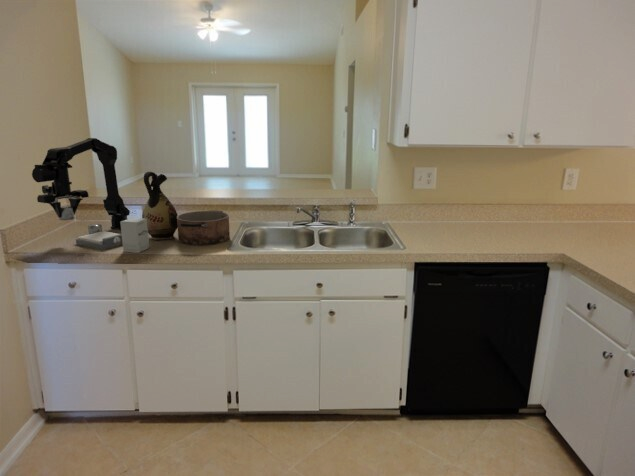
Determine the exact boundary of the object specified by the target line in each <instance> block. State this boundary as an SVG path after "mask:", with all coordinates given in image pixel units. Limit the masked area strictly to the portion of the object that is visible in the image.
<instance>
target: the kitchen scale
mask: <svg viewBox="0 0 635 476" xmlns="http://www.w3.org/2000/svg"><path fill="white" fill-rule="evenodd" d="M75 244H76V245H77V246H78V245H79V246H83V247H86V248H92V249H96V250H101V251H104V250H108V249H112V248H116V247H119V246H123V243H122V233H117V232H116V233H115V232H111V231H105V230H102V231H101V232H97V233H93V234H89V233H88V234H86V235H82V236H78V237H77V239H75Z"/></svg>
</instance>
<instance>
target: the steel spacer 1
mask: <svg viewBox="0 0 635 476" xmlns="http://www.w3.org/2000/svg"><path fill="white" fill-rule="evenodd" d="M58 218H59V217H58ZM74 219H75V215H74V211H73V206H71V205H62V206H61V218H59V220H60V221H69V220H70V221H71V220H74Z"/></svg>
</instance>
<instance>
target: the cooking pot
mask: <svg viewBox="0 0 635 476" xmlns="http://www.w3.org/2000/svg"><path fill="white" fill-rule="evenodd" d="M177 215H178V216H177V226H178V228H177V237H178V239H177V240H178V241H179V242H180V243H181V244H183V245H187V246H188V245H189V246H211V245H213V246H214V245H217V244H222V243H225V242H227V241H229V239H230V238H231V237H230V236H231V235H230V217H229V216H230V214H229V213H227V212H223V210H212V209H211V210H199V211H189V212H184V213H180V214H177Z"/></svg>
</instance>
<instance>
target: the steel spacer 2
mask: <svg viewBox="0 0 635 476" xmlns="http://www.w3.org/2000/svg"><path fill="white" fill-rule="evenodd" d="M87 230H88V235H89V234H93V233H97V232H101V231H103V228H102V224H101V223H93V224H88V225H87Z"/></svg>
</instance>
